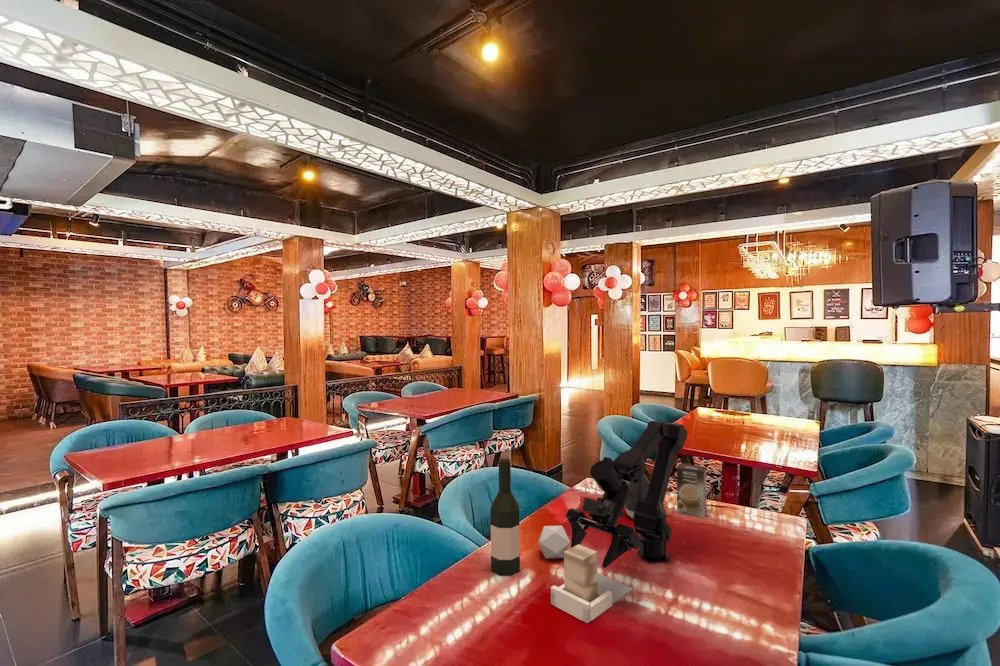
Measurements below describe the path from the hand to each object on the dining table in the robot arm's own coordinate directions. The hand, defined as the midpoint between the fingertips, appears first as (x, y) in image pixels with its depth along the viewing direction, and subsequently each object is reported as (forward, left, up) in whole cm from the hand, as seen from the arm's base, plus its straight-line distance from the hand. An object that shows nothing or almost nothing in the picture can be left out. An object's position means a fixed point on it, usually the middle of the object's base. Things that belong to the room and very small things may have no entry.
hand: (587, 560), depth 112 cm
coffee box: (-56, -43, -10) cm, 72 cm away
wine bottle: (+16, -19, -10) cm, 27 cm away
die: (+1, -23, -10) cm, 25 cm away
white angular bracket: (+2, +1, -10) cm, 10 cm away
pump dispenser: (-36, -43, -10) cm, 58 cm away
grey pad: (-7, -4, -10) cm, 12 cm away
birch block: (+2, +1, -10) cm, 10 cm away
